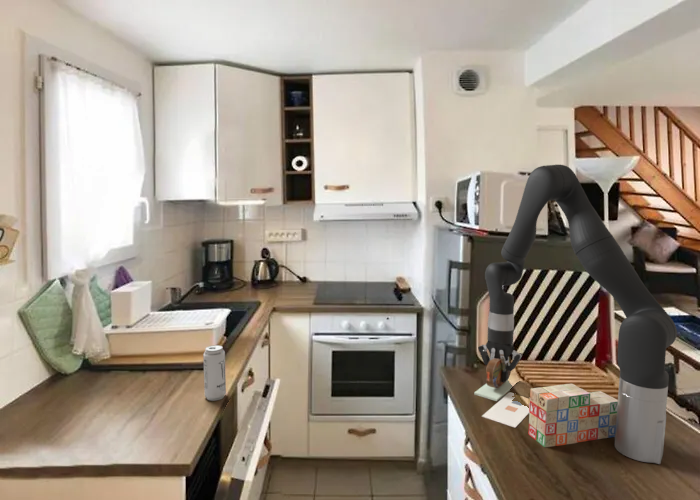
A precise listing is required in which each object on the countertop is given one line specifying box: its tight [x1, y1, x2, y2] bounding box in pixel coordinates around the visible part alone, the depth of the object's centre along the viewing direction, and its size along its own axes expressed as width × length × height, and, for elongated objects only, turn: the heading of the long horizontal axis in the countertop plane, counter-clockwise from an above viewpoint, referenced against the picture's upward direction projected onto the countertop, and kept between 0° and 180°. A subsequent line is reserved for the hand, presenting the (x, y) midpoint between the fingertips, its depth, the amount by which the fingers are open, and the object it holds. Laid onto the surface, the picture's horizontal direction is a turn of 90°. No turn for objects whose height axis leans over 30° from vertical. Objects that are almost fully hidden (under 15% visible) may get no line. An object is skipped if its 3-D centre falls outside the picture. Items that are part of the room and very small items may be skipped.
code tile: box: [481, 391, 529, 428], centre depth 122 cm, size 9×20×1 cm, turn 140°
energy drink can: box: [203, 344, 227, 402], centre depth 128 cm, size 6×6×15 cm
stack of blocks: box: [527, 383, 618, 448], centre depth 108 cm, size 21×6×12 cm, turn 104°
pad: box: [474, 380, 513, 402], centre depth 136 cm, size 7×19×1 cm, turn 139°
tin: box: [485, 355, 512, 388], centre depth 135 cm, size 15×3×8 cm, turn 139°
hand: (498, 380), depth 135 cm, fingers closed on tin, 2 cm apart
